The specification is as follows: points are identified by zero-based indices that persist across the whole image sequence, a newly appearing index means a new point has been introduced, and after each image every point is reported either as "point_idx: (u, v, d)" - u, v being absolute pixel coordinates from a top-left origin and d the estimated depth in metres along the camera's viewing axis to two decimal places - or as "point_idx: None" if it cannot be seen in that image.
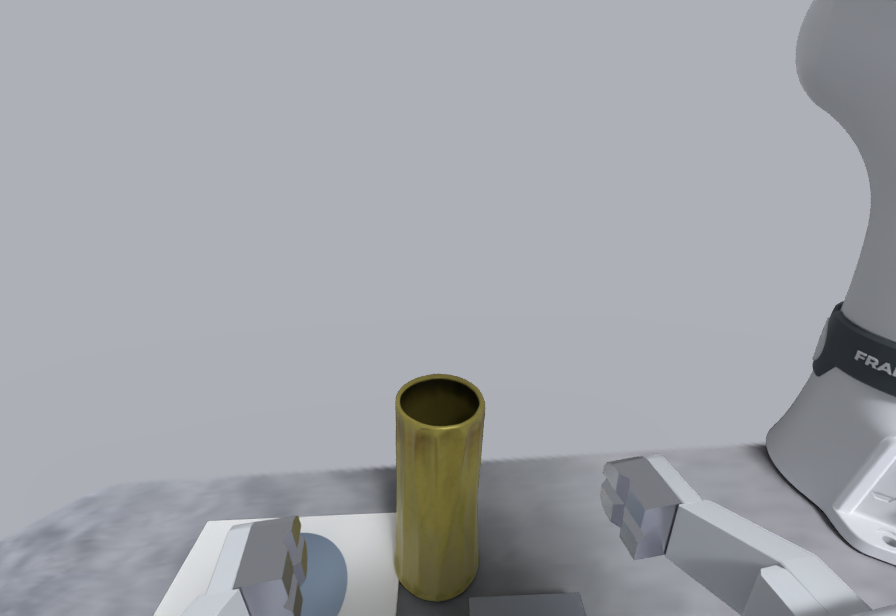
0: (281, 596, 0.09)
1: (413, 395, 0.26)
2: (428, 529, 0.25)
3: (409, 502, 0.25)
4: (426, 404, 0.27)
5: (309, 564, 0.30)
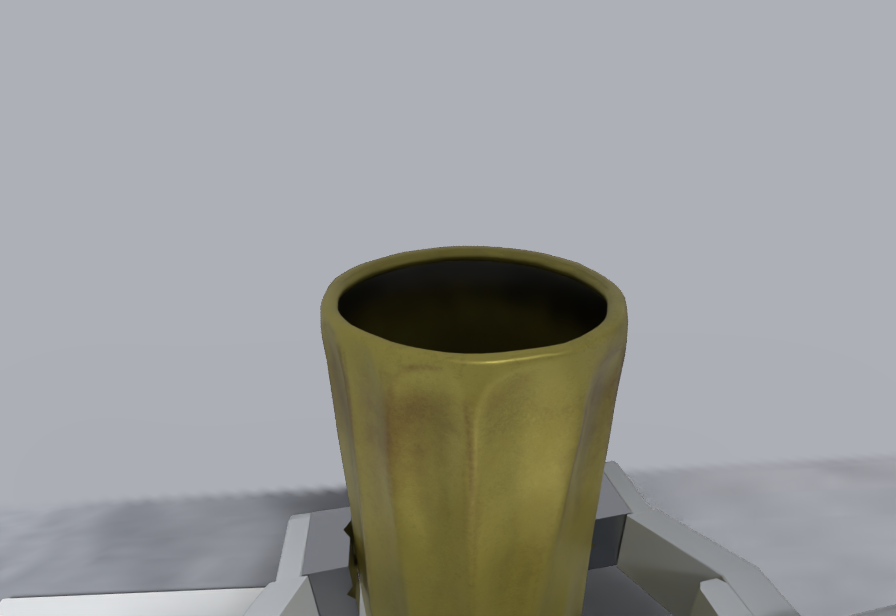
0: (347, 583, 0.09)
1: (393, 303, 0.09)
2: None
3: None
4: (430, 334, 0.10)
5: None
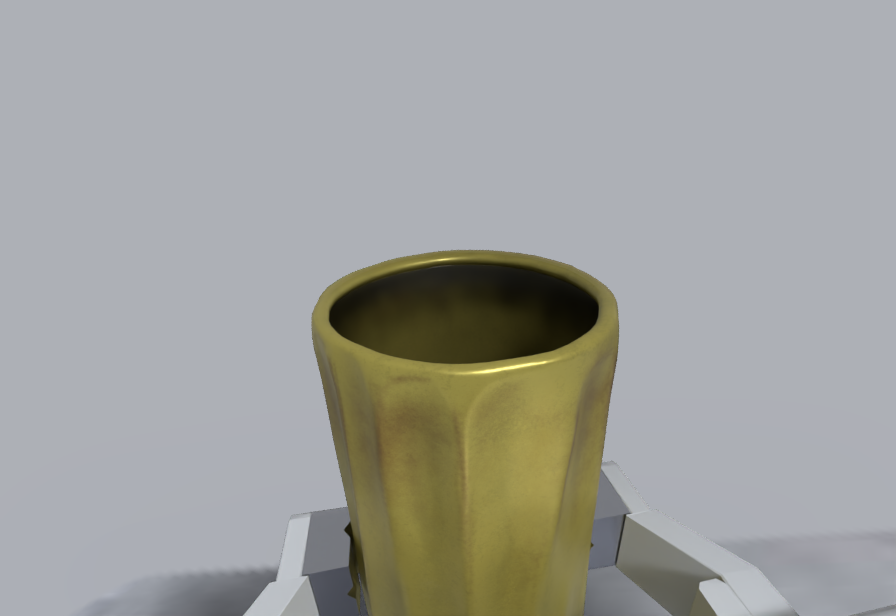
0: (347, 583, 0.09)
1: (387, 309, 0.09)
2: None
3: None
4: (425, 339, 0.10)
5: None
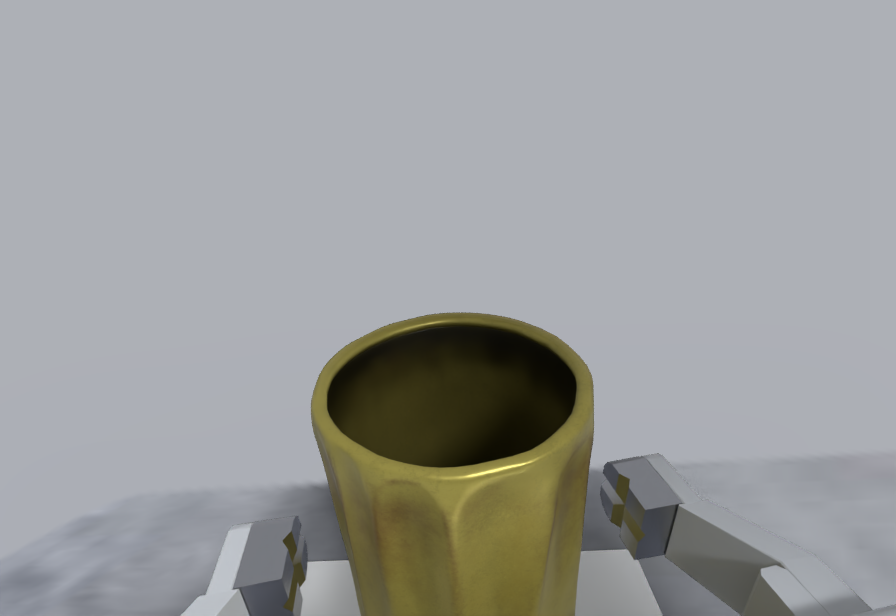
0: (282, 596, 0.09)
1: (382, 372, 0.10)
2: None
3: None
4: (419, 395, 0.11)
5: None
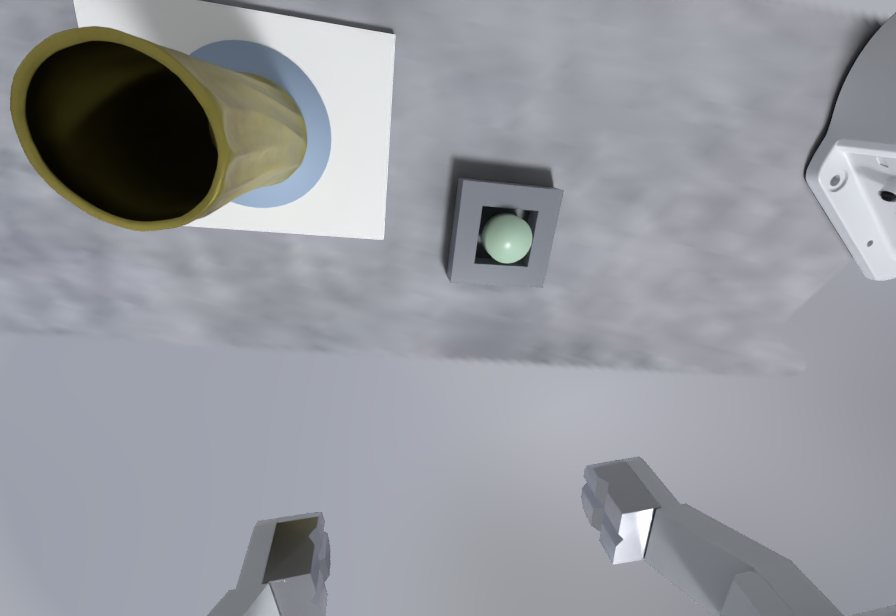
0: (310, 590, 0.09)
1: (64, 65, 0.11)
2: None
3: None
4: (114, 57, 0.12)
5: None
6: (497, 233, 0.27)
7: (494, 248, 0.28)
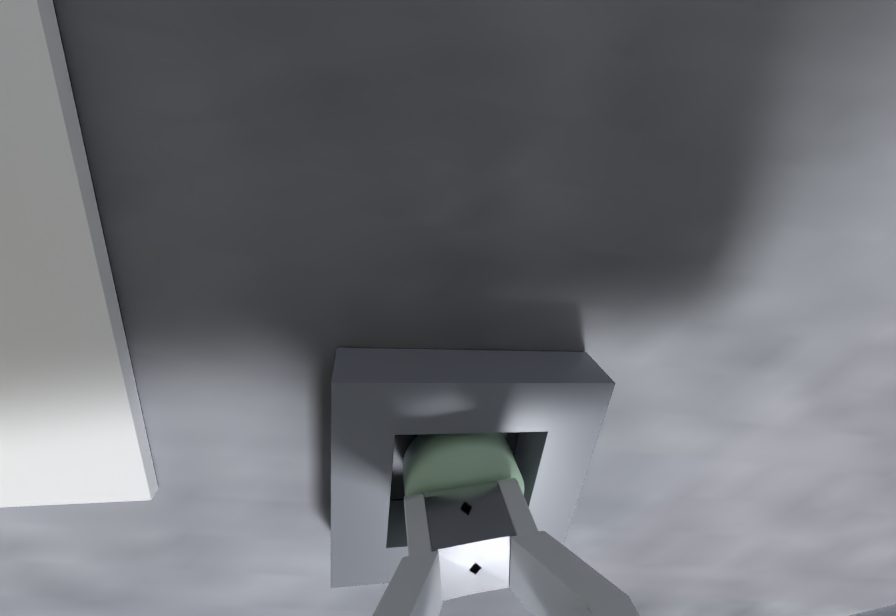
0: (471, 559, 0.09)
1: None
2: None
3: None
4: None
5: None
6: (434, 489, 0.11)
7: None
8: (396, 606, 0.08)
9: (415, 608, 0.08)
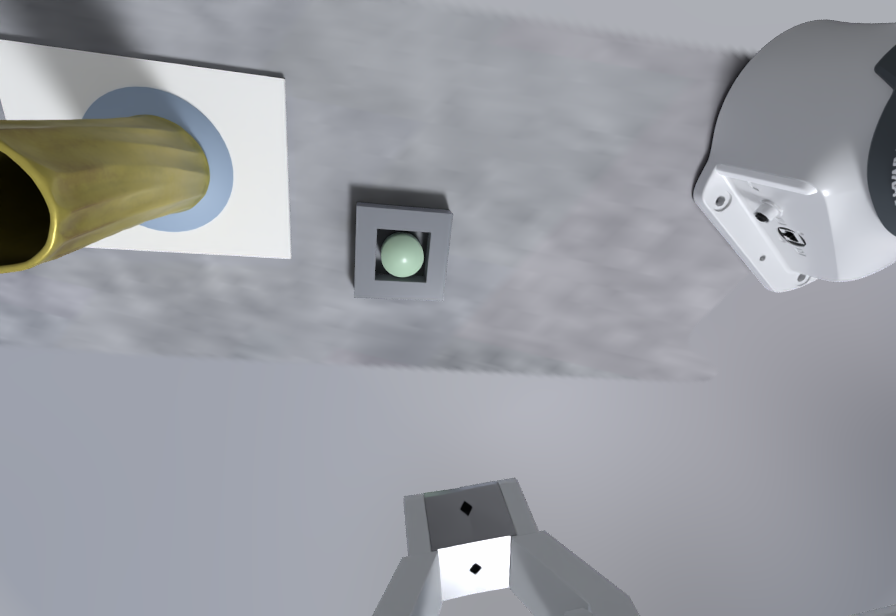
0: (470, 559, 0.09)
1: None
2: None
3: None
4: None
5: None
6: (391, 250, 0.31)
7: (388, 263, 0.31)
8: (396, 606, 0.08)
9: (415, 608, 0.08)
